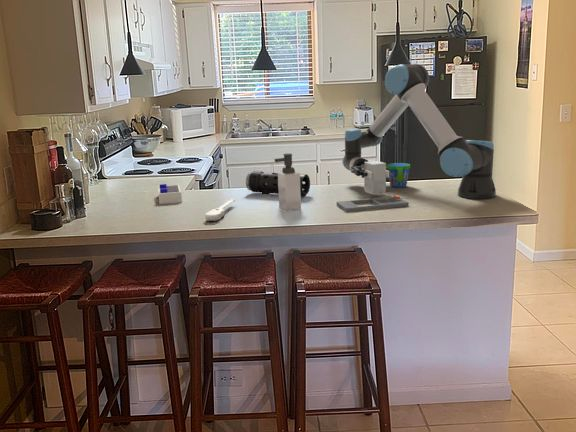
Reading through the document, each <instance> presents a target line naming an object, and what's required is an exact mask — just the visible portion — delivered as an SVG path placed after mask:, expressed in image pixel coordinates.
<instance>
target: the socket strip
mask: <svg viewBox="0 0 576 432" xmlns="http://www.w3.org/2000/svg"><path fill="white" fill-rule="evenodd" d="M361 204H362V205H361ZM364 204H372V205H364ZM359 205H360V206H359ZM363 205H364V206H363ZM409 205H410V202H409V201H407V200H404V199H403V198H401V195H398V194H394V195H393V196H386V197H376V198H374V197H373V198H365V199H363V198H362V199H354V200H342V201H336V207H338V208H340V209H341V210H342V211H344V212H345V213H351V212H361V211H373V210H383V209H393V208H405V207H404V206H406V207H409Z"/></svg>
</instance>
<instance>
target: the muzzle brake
mask: <svg viewBox="0 0 576 432" xmlns="http://www.w3.org/2000/svg"><path fill="white" fill-rule="evenodd" d="M278 173H279V172H264V171H258V170H257V171H254V170H253V171H251V172H248V174H247V175H246V179H245V187H246V188H247V190H248V191H251V192H252V193H261V194H262V195H265V194H266V195H267V196H268V195H271V194H277V195H279V190H278ZM310 188H311V178H310V176H309V175H308V174H307V173H306V174H305V173H303V174H302V173H300V194H301V197H303V198H305V197H306V196H307V195H308V194H309V192H310Z"/></svg>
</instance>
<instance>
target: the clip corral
mask: <svg viewBox="0 0 576 432" xmlns="http://www.w3.org/2000/svg"><path fill="white" fill-rule="evenodd" d="M166 186H167V193H160V185H158V186H157V191H158V202H159V205H165V204H175V203H176V204H177V203H182V202H183V199H182V198H183V197H182V190H181V186H180V184H169V185H166Z"/></svg>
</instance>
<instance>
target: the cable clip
mask: <svg viewBox="0 0 576 432" xmlns="http://www.w3.org/2000/svg"><path fill="white" fill-rule="evenodd" d="M159 186H160V193H167V186H168V185H167V183H163V184H159Z"/></svg>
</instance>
